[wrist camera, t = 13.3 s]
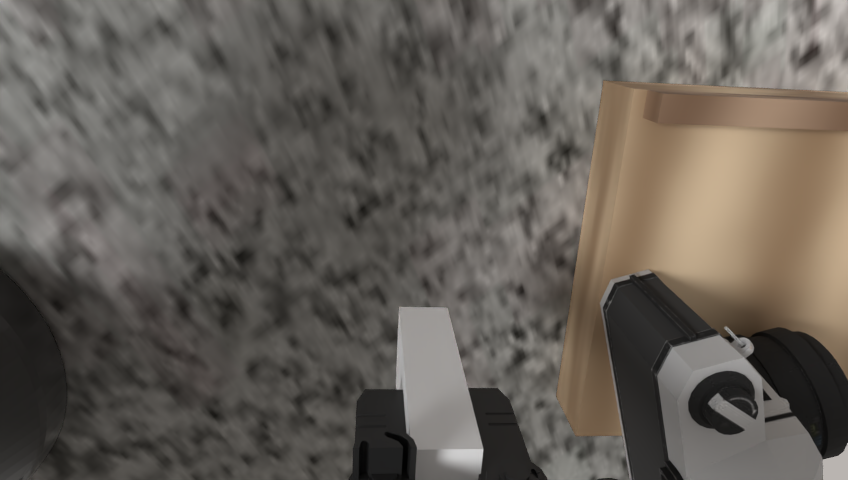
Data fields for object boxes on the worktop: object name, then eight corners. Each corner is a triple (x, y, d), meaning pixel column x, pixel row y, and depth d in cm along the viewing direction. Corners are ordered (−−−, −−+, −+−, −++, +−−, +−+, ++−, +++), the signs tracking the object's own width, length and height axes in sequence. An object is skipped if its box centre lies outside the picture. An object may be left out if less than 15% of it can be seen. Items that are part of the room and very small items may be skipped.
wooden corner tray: (556, 396, 30) (600, 485, 24) (603, 80, 24) (673, 100, 19) (822, 394, 31) (922, 478, 25) (920, 95, 26) (1073, 117, 20)
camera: (787, 473, 29) (965, 647, 20) (630, 524, 29) (740, 719, 20) (746, 221, 25) (942, 302, 16) (566, 280, 25) (667, 391, 16)
